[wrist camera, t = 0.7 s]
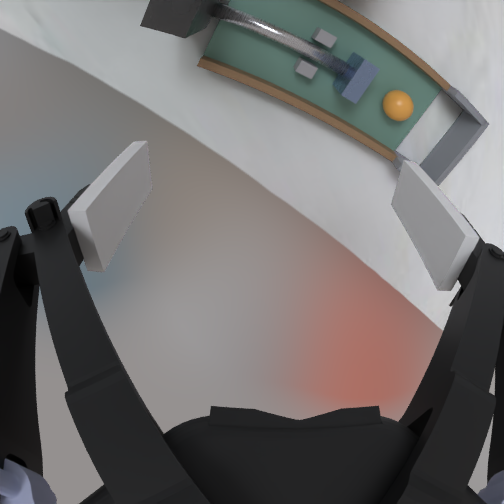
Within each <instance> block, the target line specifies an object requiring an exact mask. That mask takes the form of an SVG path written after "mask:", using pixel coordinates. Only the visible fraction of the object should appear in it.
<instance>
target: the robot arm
mask: <svg viewBox="0 0 504 504" xmlns="http://www.w3.org/2000/svg"><path fill="white" fill-rule="evenodd" d="M152 188H153V187H152V179H151V170H150V162H149V152H148V142H147V141H134V142H133V143H132V144H130V145H129V146H128V147H127V148H126V149H125V150H124V151H123V152H122V153H121V154H120V155H119V156H118V157H117V158H116V159H115V160H114V161H113V162H112V163H111V164H110V165H109V166H108V167H107V168H106V169H105V170H104V171H103V172H102V173H101V174H100V175H99V176H98V178H96V180H95V181H94V182H93V183H92V184H89V185H87V186H86V187H84V188H83V189H81V190H80V191H79V192H78V193H77V194H76V195H75V196H74V198H72V199H71V201H70V202H69V203H68V204H67V205H66V206H65V208H64V209H63V210H62V211H61V212H60V210H59V206H58V203H57V200H56V199H55V198H54V197H45V198H42V199H39V200H37V201H35V202H33V203H32V204H31V205H30V206H28V208H27V209H26V210H25V216H26V218H27V221H28V224H29V227H30V229H31V232H32V233H31V234H27V235H22V236H20V235H19V233H18V230H17V228H16V227H14V226H10V227H6V228H2V229H1V230H0V504H56V501H57V499H56V496H55V494H54V493H53V492H52V490H51V489H50V486H49V484H48V483H47V482H46V480H45V479H44V478H43V465H42V464H43V462H42V450H41V441H40V433H39V424H38V414H37V403H36V402H37V401H36V382H35V381H36V380H35V342H36V341H35V340H36V320H37V307H38V296H39V286H40V289H41V294H42V299H43V304H44V308H45V312H46V317H47V321H48V325H49V328H50V332H51V336H52V340H53V343H54V347H55V349H56V353H57V356H58V360H59V363H60V366H61V369H62V372H63V375H64V378H65V381H66V383H67V387H68V391H67V392H65V399H66V402H67V405H68V408H69V410H70V413H71V415H72V418H73V420H74V423H75V425H76V428H77V430H78V432H79V434H80V437H81V438H82V441H83V443H84V445H85V448H86V450H87V452H88V454H89V455H90V458H91V460H92V462H93V464H94V466H95V468H96V470H97V472H98V473H99V475H100V477H101V479H102V481H103V482H104V485H103V486H101V487H100V488H99V489H98V490H96V491H95V492H94V493H93V494H91V495H90V496H89V497H87V498H86V499H85V500H83V501H82V502H81V503H79V504H504V252H503V251H502V250H501V249H499V248H498V247H497V246H495V245H493V244H489V243H486V244H485V242H484V241H483V240H482V238H481V237H480V236H479V234H478V233H477V232H476V230H475V229H473V226H472V225H471V224H470V223H469V221H468V220H467V219H466V217H465V216H464V215H463V214H462V213H460V212H459V210H458V209H457V208H456V207H455V206H454V204H453V203H452V202H451V201H450V200H449V198H448V197H447V196H446V195H445V194H444V193H443V191H442V190H441V189H440V188H439V187H438V186H437V185H436V183H435V182H434V181H433V180H432V179H431V178H430V177H429V176H428V175H427V174H426V173H425V171H424V170H423V169H422V168H421V167H420V166H419V165H418V164H417V163H416V162H412V161H407V160H404V161H403V164H402V168H401V172H400V175H399V179H398V182H397V186H396V189H395V193H394V196H393V199H392V203H391V205H392V207H393V209H394V210H395V212H396V214H397V215H398V217H399V219H400V220H401V222H402V224H403V226H404V227H405V229H406V231H407V233H408V234H409V236H410V238H411V240H412V242H413V243H414V245H415V247H416V249H417V251H418V253H419V255H420V256H421V258H422V260H423V262H424V264H425V266H426V268H427V270H428V272H429V274H430V276H431V278H432V280H433V282H434V284H435V286H436V288H437V290H440V291H451V290H452V288H453V287H454V285H455V283H456V281H457V280H458V281H459V283H460V285H461V287H460V289H459V291H458V292H457V294H456V295H455V297H454V299H453V300H452V302H451V303H450V305H449V306H452V305H453V306H452V309H451V312H450V315H449V318H448V320H447V323H446V326H445V328H444V331H443V333H442V336H441V338H440V341H439V343H438V346H437V348H436V350H435V353H434V356H433V357H432V360H431V362H430V364H429V366H428V369H427V371H426V373H425V375H424V377H423V379H422V381H421V383H420V385H419V387H418V389H417V391H416V393H415V395H414V397H413V399H412V401H411V403H410V404H409V406H408V408H407V410H406V412H405V413H404V415H403V416H402V418H401V419H400V420H399V422H397V421H395V420H392V419H390V418H386V417H382V416H380V410H379V406H371V407H359V408H346V409H345V408H344V409H339V410H335V411H332V412H329V413H325V414H322V415H318V416H315V417H311V418H307V419H303V420H295V419H291V418H286V417H282V416H278V415H274V414H271V413H267V412H263V411H259V410H256V409H244V408H229V407H217V406H211V410H210V416H206V417H200V418H196V419H192V420H189V421H187V422H184V423H182V424H180V425H178V426H176V427H174V428H172V429H171V430H169V431H168V432H166V433H165V434H163V432H162V430H161V429H160V427H159V426H158V424H157V423H156V421H155V420H154V418H153V417H152V415H151V413H150V412H149V410H148V409H147V407H146V405H145V404H144V402H143V400H142V398H141V397H140V395H139V394H138V392H137V390H136V388H135V386H134V384H133V383H132V381H131V379H130V377H129V375H128V374H127V372H126V370H125V368H124V366H123V364H122V362H121V360H120V358H119V356H118V354H117V352H116V350H115V348H114V346H113V344H112V342H111V340H110V338H109V336H108V334H107V332H106V330H105V327H104V325H103V323H102V321H101V319H100V316H99V314H98V312H97V309H96V307H95V305H94V302H93V300H92V298H91V295H90V293H89V290H88V288H87V285H86V283H85V280H84V277H83V275H82V273H81V270H80V267H79V266H80V264H81V263H82V261H83V259H84V262H85V265H86V267H87V270H88V271H96V272H105V270H106V268H107V266H108V264H109V262H110V261H111V259H112V257H113V255H114V253H115V251H116V249H117V248H118V246H119V244H120V242H121V240H122V239H123V237H124V235H125V233H126V231H127V230H128V228H129V226H130V225H131V223H132V221H133V220H134V218H135V216H136V215H137V213H138V211H139V210H140V208H141V206H142V205H143V203H144V201H145V200H146V198H147V197H148V195H149V193H150V192H151V190H152ZM494 369H495V396H494V395H493V394H491V393H489V389H490V385H491V381H492V377H493V373H494ZM493 413H494V415H493ZM492 417H493V426H492V435H491V443H490V451H489V459H488V475H487V486H486V488H484V489H482V490H480V492H479V493H478V495H477V494H476V493H475V492H474V491H473V490H472V489H471V488H470V487H469V486H468V482H469V480H470V478H471V476H472V473H473V471H474V468H475V466H476V463H477V461H478V458H479V456H480V453H481V450H482V448H483V445H484V442H485V439H486V436H487V433H488V430H489V427H490V424H491V420H492Z"/></svg>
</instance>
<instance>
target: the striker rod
mask: <svg viewBox="0 0 504 504" xmlns="http://www.w3.org/2000/svg"><path fill="white" fill-rule="evenodd" d="M219 1H220V0H150V2H149V5H148V7H147V10H146V12H145V15H144V17H143V20H142V23H141V25H140V26H142V27H146V28H150V29H154V30H158V31H162V32H165V33H169V34H172V35H175V36H179V37H182V38H187V37H188V36H190V35H192V34H194V33H196V32H198V31H200V30H202V29H204V28H206V27H207V25H208V23H209V21H210V19H211V17H215V18H218V19H221V20H223V21H226V22H229V23H232V24H234V25H237V26H240V27H242V28H245V29H247V30H250V31H252V32H255V33H257V34H259V35H262V36H264V37H266V38H269V39H271V40H273V41H275V42H277V43H280V44H282V45H284V46H286V47H288V48H290V49H292V50H294V51H296V52H298V53H300V54H302V55H304V56H306V57H308V58H310V59H312V60H314V61H316V62H317V63H319V64H321V65H323V66H325V67H327V68H328V69H330V70H332V71H334V72H335V73H337V74H338V76H337V77H336V79H335V80H334V82H333V83H332V84H333V86H334V87H335V88H336V89H337V91H338V92H339V93H340V94H341V95H342V96H343V97H345V98H347V99H348V100H350V101H352V102H353V103H355V104H356V103H357V102H358V100H359V99H360V98H361V96H362V95H363V93H364V92H365V90H366V89H367V87H368V86H369V84H370V83H371V82H372V80H373V79H374V77H375V76H376V74H377V73H378V71H379V70H380V69H379V68H377V67H376V66H375V65H373V64H372V63H370V62H369V61H367V60H366V59H364V58H362V57H361V56H359V55H358V54H356V53H354V52H353V53H352V54H351V56H350V57H349V59H348V60H347V62H345V61H343V60H342V59H340V58H338V57H336V56H335V55H333V54H331V53H329V52H328V51H326V50H324V49H322V48H320V47H319V46H317V45H315V44H313V43H311V42H309V41H307V40H305V39H303V38H301V37H299V36H297V35H295V34H293V33H291V32H289V31H287V30H285V29H283V28H281V27H278V26H276V25H274V24H272V23H269V22H267V21H265V20H263V19H260V18H258V17H255V16H253V15H250V14H248V13H245V12H243V11H240V10H237V9H235V8H232V7H229V6H226V5H224V4H221V3H219Z"/></svg>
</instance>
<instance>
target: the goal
mask: <svg viewBox="0 0 504 504" xmlns="http://www.w3.org/2000/svg"><path fill="white" fill-rule="evenodd" d="M441 88H442V87H441ZM442 90H443V91H445V92H446V93H447V94H448V95H449V96H450V97H451V98H452V99H453V100H454V101H455V102H456V103H457V104H458V105H459V106H460V107H461V108H462V109H463V112H462V113H461V114H460V116H459V117H458V118H457V120H456V121H455V122H454V124H453V125H452V126H451V127H450V129H449V130H448V131H447V132H446V134H445V135H444V136H443V138H442V139H441V140H440V141H439V143H438V144H437V145H436V146H435V148H434V149H433V150H432V151H431V152H430V154H429V155H428V156H427V157H426V159H425V160H424V161H423V162H422V163H421V165H420V167H421V168H422V169H423V170H424V171H425V173H426V174H427V175H428V176H429V177H430V178H431V179H432V180H433V181H434V182H435V183H436V185H437V186H439V185H440V183H441V182H442V181H443V180H444V179H445V178H446V177H447V175H448V174H449V173H450V172H451V171H452V170H453V168H454V167H455V166H456V165H457V164H458V162H459V161H460V160H461V159H462V158H463V157H464V155H465V154H466V153H467V152H468V150H469V149H470V148H471V147H472V146H473V144H474V143H475V142H476V141H477V139H478V138H479V137H480V136H481V134H482V133H483V132H484V130H485V129H486V128H487V127H488V125H489V123H488V122H487V121H486V120H485V119H484V117H483V116H482V115H481V114H480V113H479V112H478V111H477V110H476V108H475V107H474V106H473V105H472V104H471V103H470V102H469V101H468V100H467V99H466V98H465V97H464V96H463V95H462V94H461V93H460V92H459V91H458V90H457V89H455V88H454V87H452V86H450V88H449V89H448V90H447V91H446V90H445V89H443V88H442ZM394 152H395V153H396V155H397V156H398V157H396V158H395V159H394V160H393V164H394V165H395V167H396V169H397V170H398V171H400V172H401V168H402V164H403V161H404V160H407V161H410V160H409V159H407V158H406V157H404V156H403V155H401V154H400V153H398V152H397V151H396V150H395V151H394Z"/></svg>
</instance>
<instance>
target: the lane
mask: <svg viewBox="0 0 504 504" xmlns="http://www.w3.org/2000/svg"><path fill="white" fill-rule="evenodd" d="M228 6H229V7H232V8H235V9H237V10H240V11H243V12H245V13H248V14H250V15H253V16H255V17H258V18H260V19H263V20H265V21H267V22H269V23H272V24H274V25H276V26H278V27H281V28H283V29H285V30H287V31H289V32H291V33H293V34H295V35H297V36H299V37H301V38H303V39H305V40H307V41H309V42H311V43H313V44H315V45H317V46H319V47H320V48H322V49H324V50H326V51H328V52H329V53H331V54H333V55H335V56H336V57H338V58H340V59H342V60H343V61H345V62H347V60H348V59H349V57H350V56H351V54H352V53H353V52H354V53H356V54H358V55H359V56H361V57H362V58H364V59H366V60H367V61H369V62H370V63H372V64H373V65H375V66H376V67H377V68H379V69H380V70H379V71H378V73H377V74H376V76H375V77H374V79H373V80H372V82H371V83H370V84H369V86H368V87H367V89H366V90H365V92H364V93H363V95H362V96H361V98H360V99H359V100H358V102H357V103H356V104H355V103H353V102H352V101H350V100H348V99H347V98H345V97H343V96H342V95H341V94H340V93H339V92H338V91H337V89H336V88H335V87H334V86H333V84H332V83H333V82H334V80H335V79H336V77H337V76H338V74H337V73H335V72H334V71H332V70H330V69H328V68H327V67H325V66H323V65H321V64H319V63H317V62H316V61H314V60H312V59H310V58H308V57H306V56H304V55H302V54H300V53H298V52H296V51H294V50H292V49H290V48H288V47H286V46H284V45H282V44H280V43H277V42H275V41H273V40H271V39H269V38H266V37H264V36H262V35H259V34H257V33H255V32H252V31H250V30H247V29H245V28H242V27H240V26H237V25H234V24H232V23H229V22H226V21H223V20H221V19H220V21H219V23H218V25H217V27H216V29H215V31H214V34H213V36H212V38H211V40H210V42H209V44H208V46H207V48H206V51H205V53H204V55H203V56H202V57H201V58H200V60H199V63H198V65H197V66H199V67H202V68H204V69H207V70H210V71H213V72H215V73H218V74H221V75H223V76H226V77H228V78H231V79H233V80H236V81H238V82H241V83H243V84H246V85H248V86H250V87H253V88H255V89H258V90H260V91H262V92H264V93H267V94H269V95H271V96H273V97H275V98H278V99H280V100H282V101H284V102H286V103H288V104H290V105H292V106H294V107H296V108H299V109H301V110H303V111H305V112H307V113H308V114H310V115H312V116H314V117H316V118H318V119H320V120H322V121H324V122H326V123H328V124H329V125H331V126H333V127H335V128H337V129H338V130H340V131H342V132H344V133H346V134H347V135H349V136H351V137H353V138H354V139H356V140H358V141H359V142H361V143H363V144H364V145H366V146H368V147H369V148H371V149H373V150H374V151H376V152H377V153H379V154H381V155H382V156H384V157H385V158H387V159H388V160H390V161H392V162H393V160H394V159H395V158H396V157H398V156H397V155H396V153H395V152H394V151H395V150H396V148H397V147H398V146H399V144H400V143H401V142H402V141H403V139H404V138H405V137H406V135H407V134H408V133H409V132H410V130H411V129H412V128H413V126H414V125H415V124H416V122H417V121H418V120H419V118H420V117H421V116H422V115H423V113H424V112H425V111H426V109H427V108H428V107H429V105H430V104H431V103H432V101H433V100H434V99H435V97H436V96H437V94H438V93H439V92H440V90H441V89H442V88H443V89H445V90H446V91H447V90H448V89H449V88H450V86H451V85H450V84H449V83H448V82H447V81H445V80H444V79H443V78H442V77H441V76H440V75H439V74H438V73H437V72H436V71H435V70H433V69H432V68H431V67H430V66H429V65H428V64H427V63H425V62H424V61H423V60H422V59H421V58H419V57H418V56H417V55H416V54H415V53H413V52H412V51H411V50H410V49H408V48H407V47H406V46H405V45H403V44H402V43H401V42H399V41H398V40H397V39H395V38H394V37H393V36H391V35H390V34H389V33H387V32H386V31H384V30H383V29H382V28H380V27H379V26H377V25H376V24H374V23H373V22H371V21H370V20H368V19H367V18H365V17H364V16H362V15H361V14H359V13H357V12H356V11H354V10H353V9H351V8H349V7H348V6H346V5H344V4H343V3H341V2H339V1H337V0H230V2H229V4H228ZM441 87H442V88H441ZM392 90H400V91H403V92H405V93H407V94H408V95H409V96H410V98H411V99H412V101H413V105H414V109H413V113H412V115H411V116H410V117H409V118H408V119H406V120H404V121H396V120H393V119H391V118H390V117H388V116H387V115H386V113H385V112H384V109H383V104H382V103H383V98H384V96H385V95H386V94H387V93H388V92H390V91H392Z"/></svg>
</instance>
